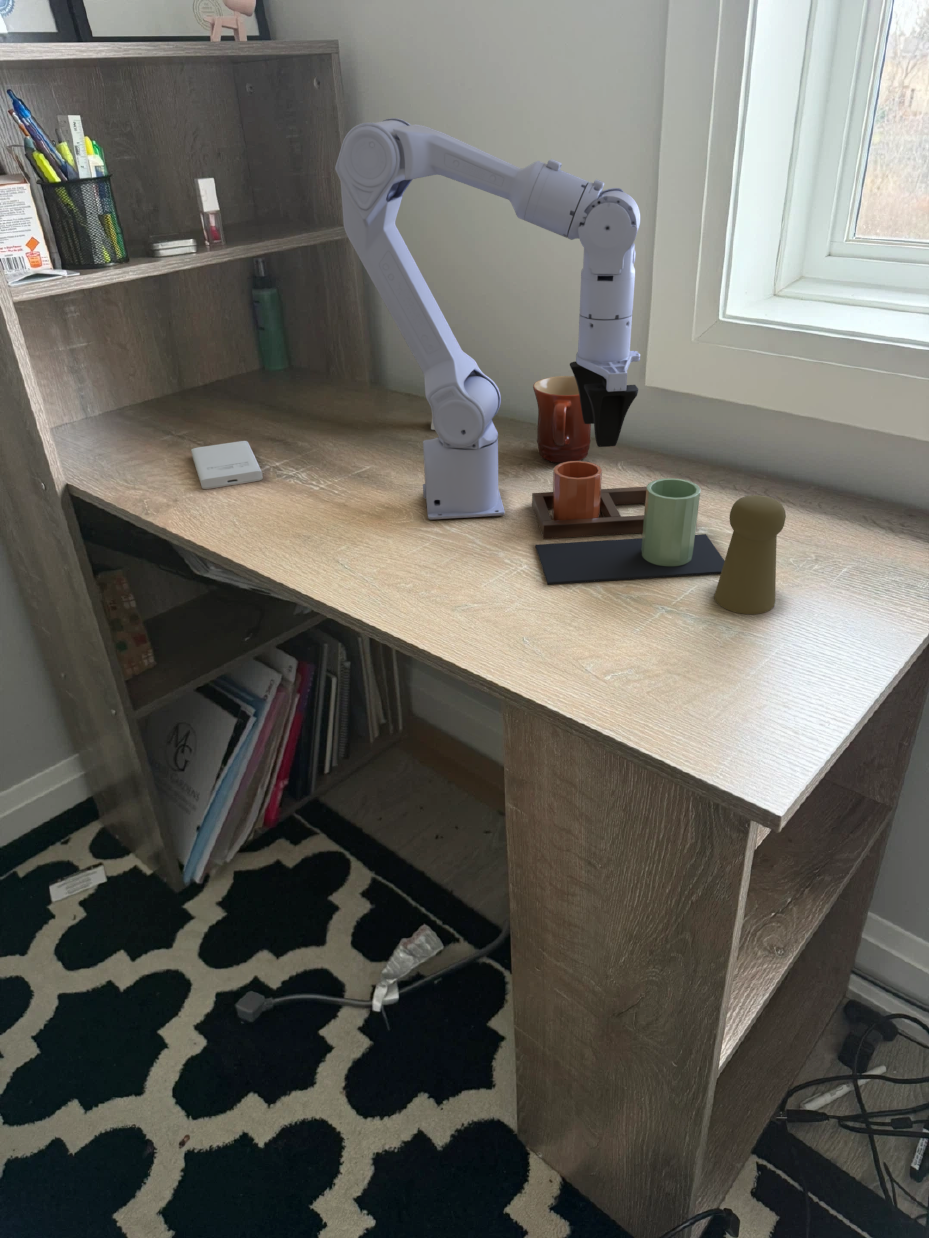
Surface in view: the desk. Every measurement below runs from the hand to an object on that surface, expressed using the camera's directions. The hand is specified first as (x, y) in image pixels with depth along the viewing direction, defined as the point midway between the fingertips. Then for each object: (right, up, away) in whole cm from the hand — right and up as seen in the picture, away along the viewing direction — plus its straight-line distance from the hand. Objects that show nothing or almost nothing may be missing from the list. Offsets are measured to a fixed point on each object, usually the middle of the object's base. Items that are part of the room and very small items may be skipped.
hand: (599, 434), depth 105 cm
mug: (-2, 0, +21) cm, 21 cm away
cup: (+7, -14, -5) cm, 17 cm away
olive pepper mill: (+13, -20, -13) cm, 27 cm away
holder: (+2, -9, +5) cm, 11 cm away
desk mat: (+3, -15, -5) cm, 16 cm away
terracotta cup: (-2, -10, +4) cm, 11 cm away
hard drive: (-49, -1, +22) cm, 54 cm away
